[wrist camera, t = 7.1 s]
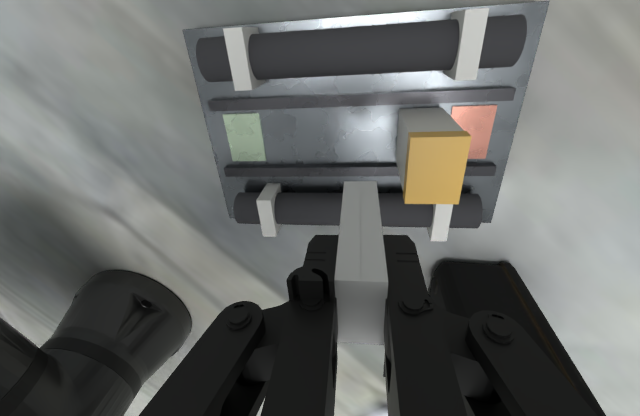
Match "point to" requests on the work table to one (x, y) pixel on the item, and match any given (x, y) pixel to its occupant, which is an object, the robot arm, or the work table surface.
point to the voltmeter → (504, 309)
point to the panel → (359, 116)
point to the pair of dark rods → (358, 59)
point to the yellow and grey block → (431, 156)
